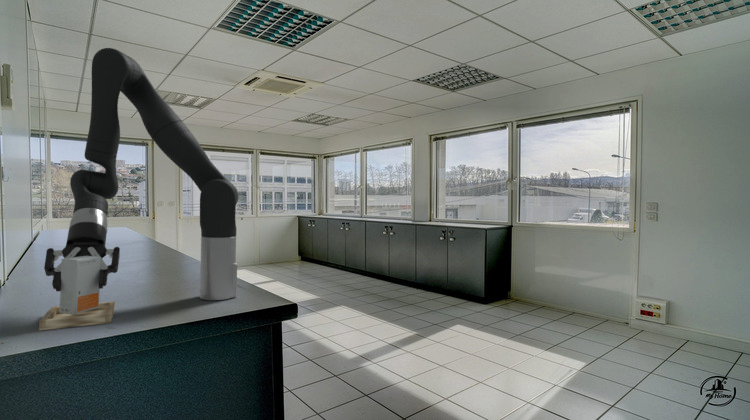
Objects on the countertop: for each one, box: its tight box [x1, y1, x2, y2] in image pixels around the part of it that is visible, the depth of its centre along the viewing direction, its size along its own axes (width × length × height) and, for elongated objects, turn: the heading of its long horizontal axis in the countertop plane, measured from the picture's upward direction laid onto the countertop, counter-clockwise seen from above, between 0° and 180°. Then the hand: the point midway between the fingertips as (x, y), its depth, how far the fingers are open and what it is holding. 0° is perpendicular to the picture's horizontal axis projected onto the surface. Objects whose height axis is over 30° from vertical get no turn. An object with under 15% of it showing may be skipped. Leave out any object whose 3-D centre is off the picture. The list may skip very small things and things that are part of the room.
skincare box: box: [59, 256, 101, 315], centre depth 86 cm, size 6×4×12 cm
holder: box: [38, 300, 116, 331], centre depth 86 cm, size 12×12×2 cm
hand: (79, 287), depth 85 cm, fingers closed on skincare box, 7 cm apart
